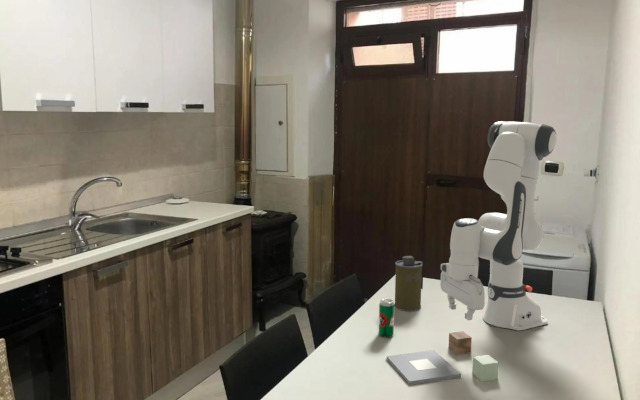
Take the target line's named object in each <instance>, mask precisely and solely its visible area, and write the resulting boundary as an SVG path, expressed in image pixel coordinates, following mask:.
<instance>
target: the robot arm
mask: <svg viewBox="0 0 640 400" xmlns="http://www.w3.org/2000/svg"><path fill="white" fill-rule="evenodd" d="M556 144H557V132H556V129H555V128H554V127H553V126H551V125H548V124H544V123H543V124H539V123H534V122H529V121H528V122H527V121H522V122H521V121H504V120H501V121H496V122H494V123H493V124H492V125H491V126H490V127H489V129H488V132H487V145H488V146H489V148H490V151H489V154H488V157H487V159H486V163H485V165H484V168H483V180H484V182H485V183H486V186H488V188H490V189H491V190H492V191H493V192H495V193H496V194H498V195H500V198H501V200H503V202H504V203H505V205H506V206H505V207H506V210H507V211H506V213H501V212H486V213H484V214H482V215H481V216H480V217H479V219H475V218H471V217H470V218H469V217H467V218H460V219H457V220H456V221H454V223H453V226H452V229H451V233H450V234H451V235H450V240H449V241H450V242H449V249H450V257H449V259H448V262H446V263H445V262H444V263H441V264H440V270H441V273H440V290H441V292H444V293H445V294H446V295H447V296H446V297H447V301H448V308H449V309H450V310H456V309H457V303H456V301H458V302H459V303H461V304H463V305H465V306H466V310H467V311H466V312H465V313H464V319H465V320H467V321H472V320H473V317H474V316H473V315H474V313H475V311H480V310H481V311H482V310H483V309H484V307H485V298H486V297H485V295H486V294H485V288H484V287H485V286H484V284H483V283H482V281H481V279H480V278H478V277H479V266H480V264H479V263H480V261H479V258H480V259H484V260H488V261H489V263H490V264H489V266H490V267H489V273H490V274H489V280H488V283H487V284H488V285H487V301H486V302H487V303H486V307H485V311H484V314H483V317H482V320H483V321H484V322H485V323H487V324H489V325H491V326H493V327H494V326H495V327H497V328H503V329H504V328H505V329H511V330H514V331H518V332H519V331H525V330H528V329H533V328H538V327H539V326H543V325H547V324H549V321H548V319H547V318H546V317H545V316H543V315H542V311H541V307H540V305H539V303H538V302H537V301H535V300H534V299H533V298H531V297H530V296H529V295H528V294H527V293H526V291H527V292H528V293H531V292H532V291H533V287H532V286H530V285H528V284H527V285H526V284H524V283H523V277H524V275H523V274H524V263H523V261H522V260H521V256H522V254H523V251H534V250H537V249H538V248H539V247H540V246H541V244H542V243H543V240H544V235H545V234H544V233H545V232H544V229H543V227H542V226H541V224H540V222H539V221H538V220H537V217H536V213H535V209H534V208H535V207H534V198H535V193H536V187H537V184H538V183H537V182H538V178H539V177H538V176H539V171H540V163H541V162H540V161H542V160H543V159H544V158H546V157H548V156H549V155H550V154H552V152H553V151H554V149H555V147H556Z"/></svg>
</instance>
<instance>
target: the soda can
mask: <svg viewBox="0 0 640 400" xmlns="http://www.w3.org/2000/svg"><path fill="white" fill-rule="evenodd" d="M394 304H395V302H394V300H392V299H390V298H383V299H382V298H381V299H380V302H379V303H378V334H379V336H381V337H382V338H391V337H392V336H394V332H395V331H394V330H395V329H394V328H395V327H394V326H395V306H394Z"/></svg>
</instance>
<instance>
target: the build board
mask: <svg viewBox="0 0 640 400" xmlns="http://www.w3.org/2000/svg"><path fill="white" fill-rule="evenodd" d="M386 360H387V362H388V363H389V364H390V365H391V366H392V367H393V368H394V370H396V372H397V373H398V374H399V375H400V376H401V377H402V379H403V380H405V381H406V383H407V384H408V386H409V385H411V386H412V385H418V384H424V383H431V382H432V383H433V382H436V381H438V382H439V381H444V380H451V379H457V378H462V373H461V372H460V371H459V370H458V369H457V368H455V367H454V366H453V365H452V364H451V363H449V362H448V361H447V360H446V359H445V358H444V357H443V356H442V355H440V354H439V353H438V352H437V351H436V350H435V349H432V350H425V351H416V352H408V353H402V354H394V355H387V356H386Z"/></svg>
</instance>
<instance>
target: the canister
mask: <svg viewBox="0 0 640 400" xmlns="http://www.w3.org/2000/svg"><path fill="white" fill-rule="evenodd" d="M401 259H402V260H397V261H396V262H394V263H395V280H394V281H395V282H394V284H395V285H394V289H395V290H394V309H397V310H400V311H403V312H404V311H405V312H413V311H419V310H420V309H422V305H421V304H422V303H421V302H422V290H423V288H424V287H423V286H424V285H423V284H424V262H423V261H421V260H415V257H413V256H412V255H405V256H402V257H401Z"/></svg>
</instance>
